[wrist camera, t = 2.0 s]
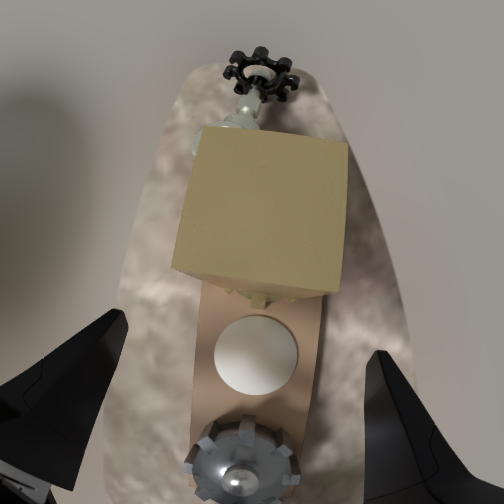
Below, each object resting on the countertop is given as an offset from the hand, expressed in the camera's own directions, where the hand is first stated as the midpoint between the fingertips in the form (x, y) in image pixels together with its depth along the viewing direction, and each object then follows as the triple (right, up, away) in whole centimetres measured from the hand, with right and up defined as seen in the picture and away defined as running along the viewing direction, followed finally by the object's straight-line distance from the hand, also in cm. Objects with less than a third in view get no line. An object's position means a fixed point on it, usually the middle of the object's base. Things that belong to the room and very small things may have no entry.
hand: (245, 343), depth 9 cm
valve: (0, +12, +14) cm, 19 cm away
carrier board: (0, -6, +11) cm, 12 cm away
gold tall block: (+1, +2, +11) cm, 12 cm away
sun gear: (0, -13, +8) cm, 15 cm away
